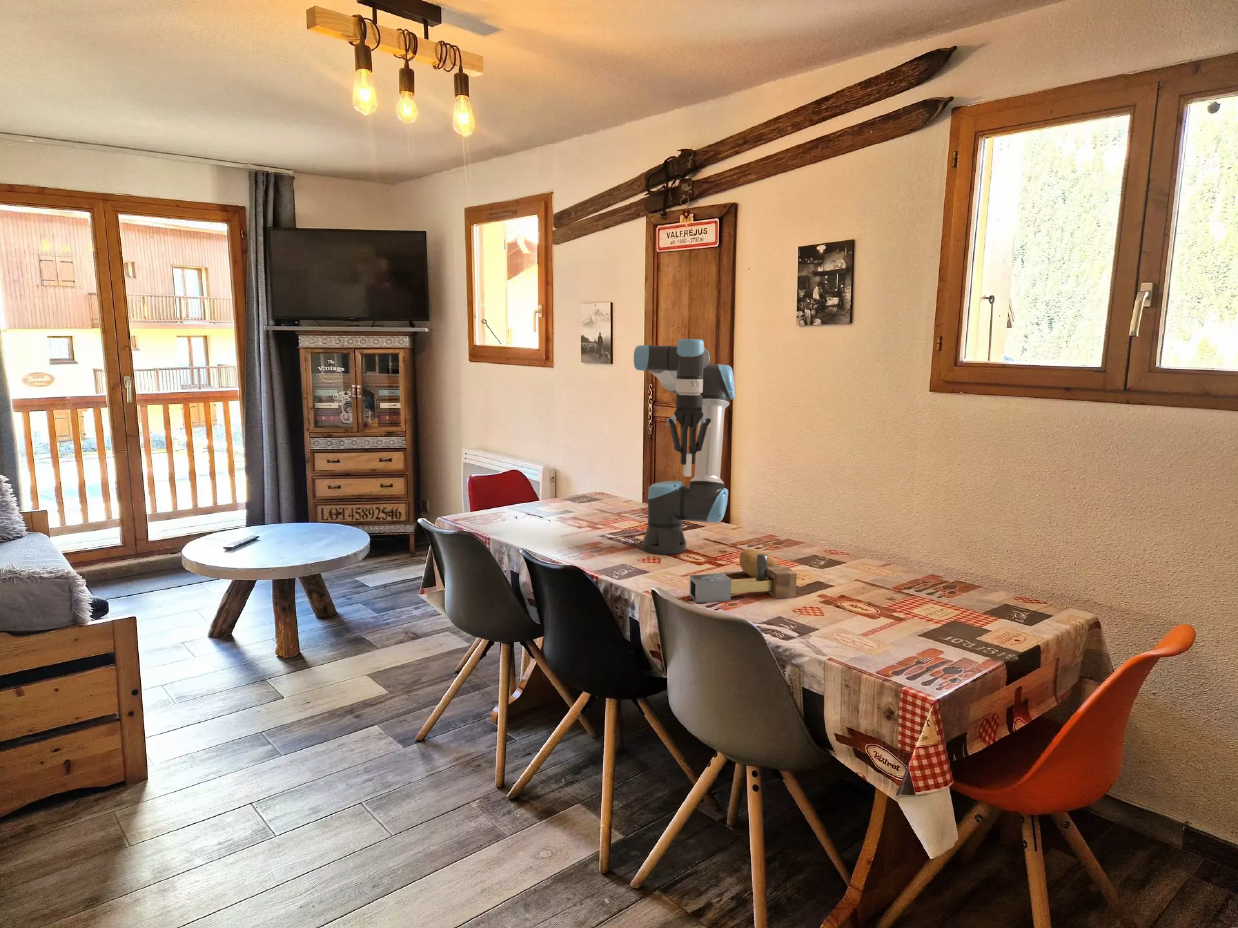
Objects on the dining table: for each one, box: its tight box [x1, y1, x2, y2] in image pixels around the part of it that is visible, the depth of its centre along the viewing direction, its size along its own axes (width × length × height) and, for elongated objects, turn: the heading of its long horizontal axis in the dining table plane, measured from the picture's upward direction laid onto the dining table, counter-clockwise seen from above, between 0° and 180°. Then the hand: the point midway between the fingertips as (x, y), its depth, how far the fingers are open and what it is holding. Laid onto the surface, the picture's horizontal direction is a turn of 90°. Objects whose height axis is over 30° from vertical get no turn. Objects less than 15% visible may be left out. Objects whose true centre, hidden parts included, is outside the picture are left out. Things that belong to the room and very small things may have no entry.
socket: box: [765, 564, 798, 600], centre depth 220 cm, size 8×6×7 cm
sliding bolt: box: [731, 553, 774, 594], centre depth 217 cm, size 3×19×10 cm, turn 103°
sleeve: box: [688, 572, 732, 604], centre depth 215 cm, size 6×10×6 cm, turn 103°
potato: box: [738, 548, 779, 578], centre depth 234 cm, size 10×14×8 cm
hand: (687, 475), depth 223 cm, fingers closed
